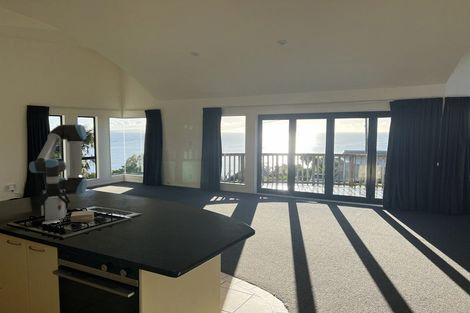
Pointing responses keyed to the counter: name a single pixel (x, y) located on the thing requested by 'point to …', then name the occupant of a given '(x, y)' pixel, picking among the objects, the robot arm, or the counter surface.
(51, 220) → the cream smooth round part
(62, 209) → the supplement box
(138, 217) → the counter surface
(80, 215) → the maple block
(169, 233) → the counter surface
